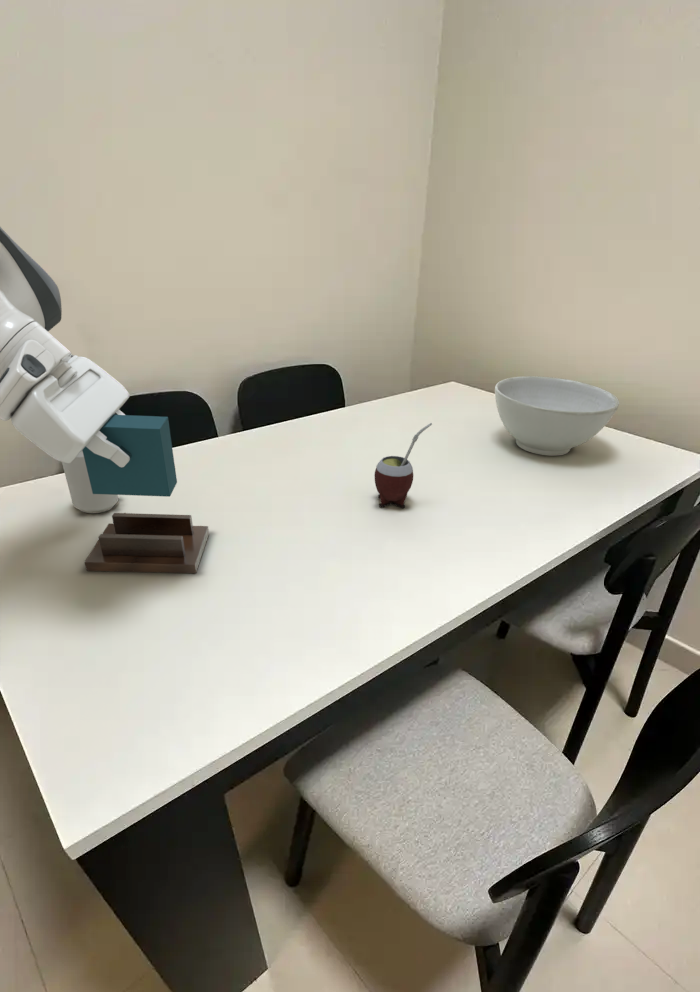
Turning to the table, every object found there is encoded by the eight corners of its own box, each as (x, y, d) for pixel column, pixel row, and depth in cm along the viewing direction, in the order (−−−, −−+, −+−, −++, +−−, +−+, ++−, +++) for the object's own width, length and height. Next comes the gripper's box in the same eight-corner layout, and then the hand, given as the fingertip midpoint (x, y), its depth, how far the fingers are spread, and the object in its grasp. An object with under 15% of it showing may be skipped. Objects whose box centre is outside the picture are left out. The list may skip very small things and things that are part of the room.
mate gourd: (364, 501, 108) (370, 420, 99) (392, 489, 113) (400, 411, 104) (394, 515, 104) (403, 432, 95) (422, 502, 109) (433, 423, 100)
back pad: (92, 494, 76) (76, 425, 70) (103, 479, 79) (88, 413, 74) (170, 496, 76) (159, 429, 71) (177, 482, 80) (167, 416, 74)
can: (81, 519, 98) (63, 450, 91) (68, 502, 102) (50, 435, 95) (125, 508, 101) (111, 441, 94) (111, 492, 106) (96, 427, 99)
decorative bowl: (477, 423, 147) (487, 372, 139) (583, 429, 147) (598, 379, 139) (494, 464, 125) (506, 407, 118) (618, 472, 125) (638, 416, 118)
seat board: (86, 570, 86) (79, 544, 83) (110, 531, 95) (104, 506, 92) (196, 573, 86) (192, 547, 84) (209, 534, 96) (206, 509, 93)
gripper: (54, 366, 78) (140, 440, 84) (-19, 416, 62) (95, 503, 68) (80, 331, 76) (167, 410, 82) (11, 374, 59) (126, 468, 66)
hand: (134, 453), depth 75 cm, fingers closed on back pad, 4 cm apart
